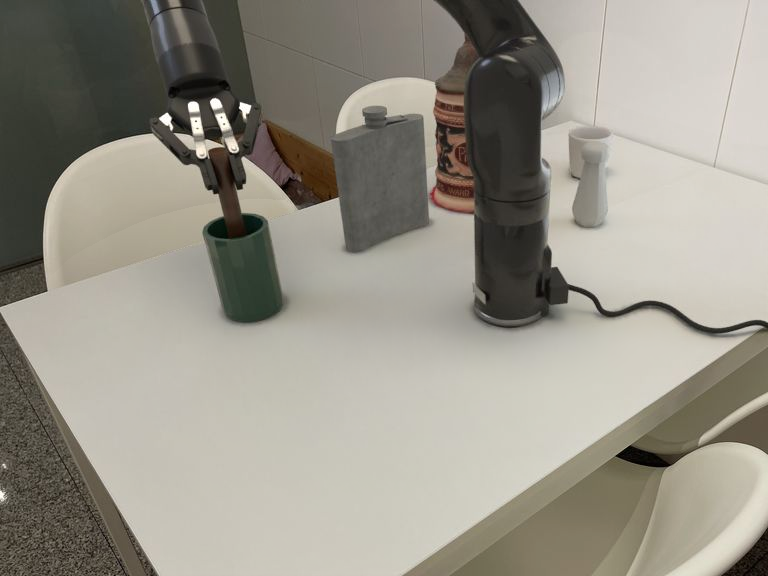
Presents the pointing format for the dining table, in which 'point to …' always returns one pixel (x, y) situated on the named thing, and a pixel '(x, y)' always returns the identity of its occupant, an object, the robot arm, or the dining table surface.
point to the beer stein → (453, 136)
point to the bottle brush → (227, 192)
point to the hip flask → (381, 177)
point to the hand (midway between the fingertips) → (228, 188)
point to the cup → (579, 139)
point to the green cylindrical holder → (244, 269)
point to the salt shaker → (592, 186)
